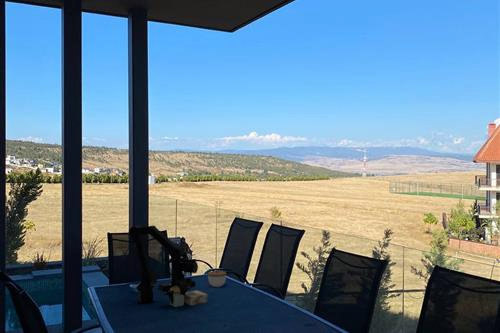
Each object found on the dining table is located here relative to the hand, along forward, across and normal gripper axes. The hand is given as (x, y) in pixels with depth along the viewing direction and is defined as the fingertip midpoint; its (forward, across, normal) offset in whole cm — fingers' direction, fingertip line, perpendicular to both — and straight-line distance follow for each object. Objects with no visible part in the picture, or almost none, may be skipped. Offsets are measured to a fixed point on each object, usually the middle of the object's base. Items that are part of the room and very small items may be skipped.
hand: (177, 302), depth 234 cm
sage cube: (+1, 0, 0) cm, 1 cm away
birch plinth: (+1, +10, 0) cm, 10 cm away
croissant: (+2, +14, +25) cm, 28 cm away
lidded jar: (+1, +38, +20) cm, 43 cm away
